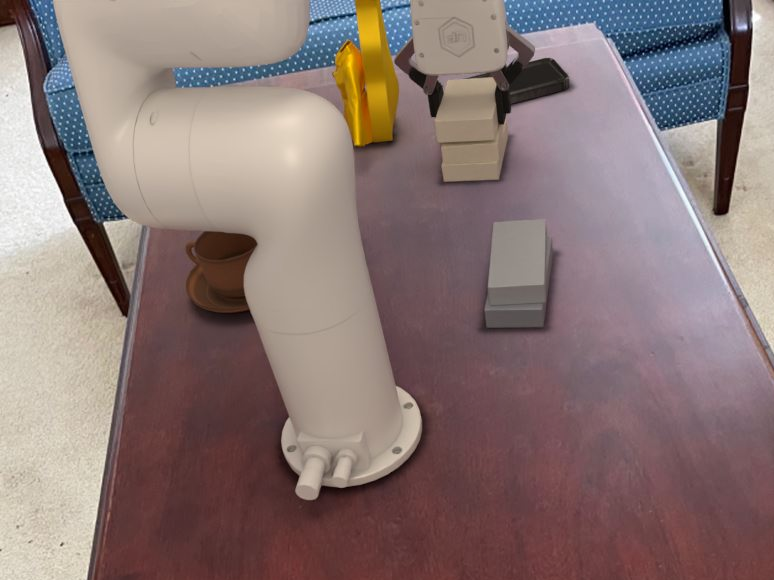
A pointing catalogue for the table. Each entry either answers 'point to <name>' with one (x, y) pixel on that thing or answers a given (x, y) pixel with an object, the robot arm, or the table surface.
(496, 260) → the grey stack
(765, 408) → the table surface
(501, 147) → the cream stack
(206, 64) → the robot arm
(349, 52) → the figure statuette
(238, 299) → the cup and saucer
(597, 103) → the table surface
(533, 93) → the phone
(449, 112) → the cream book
